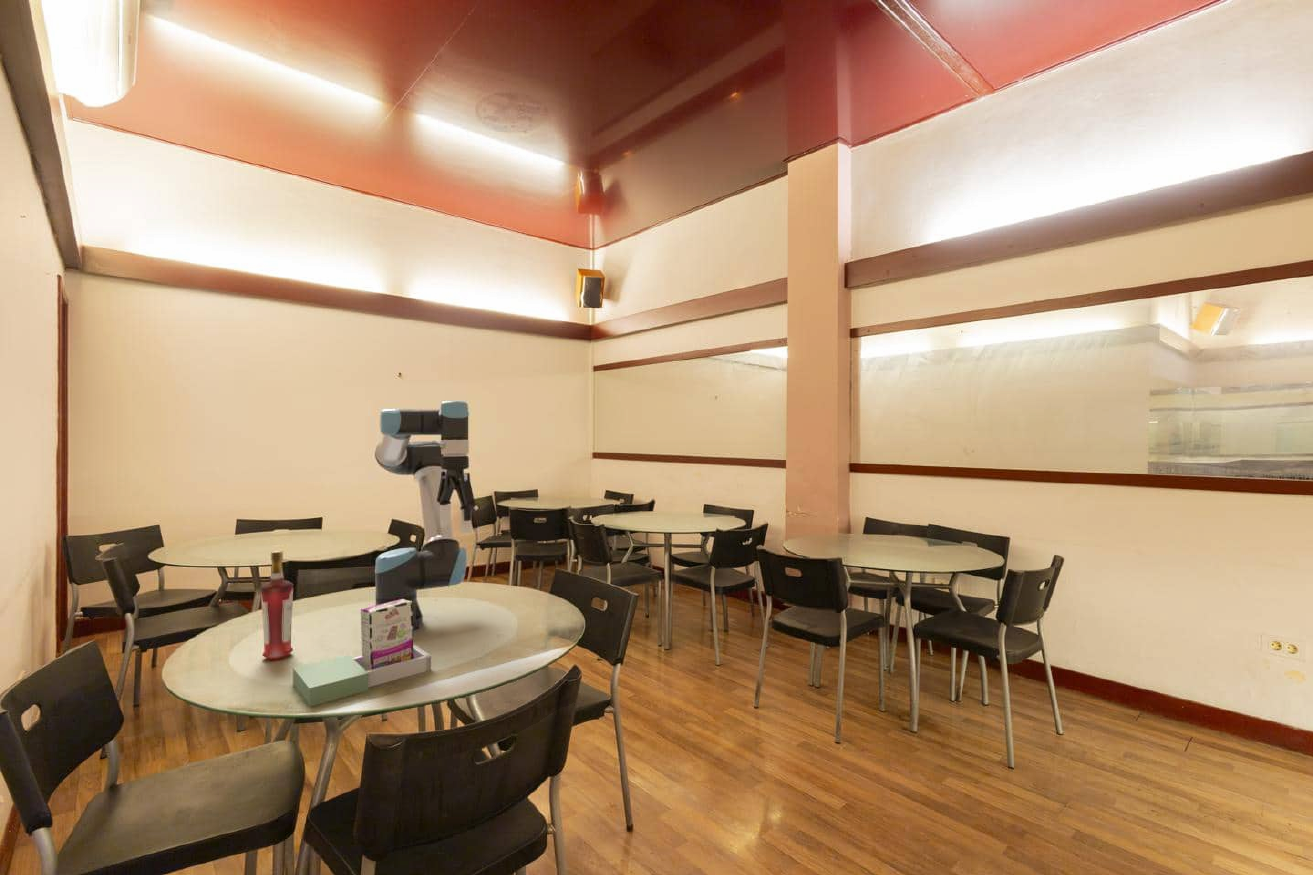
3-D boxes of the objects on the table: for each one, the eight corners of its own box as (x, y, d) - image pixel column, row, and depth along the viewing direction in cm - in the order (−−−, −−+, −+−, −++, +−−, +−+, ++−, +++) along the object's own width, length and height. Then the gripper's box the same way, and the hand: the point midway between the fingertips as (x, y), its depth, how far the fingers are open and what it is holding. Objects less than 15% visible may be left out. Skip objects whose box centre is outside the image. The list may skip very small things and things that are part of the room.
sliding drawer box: (293, 684, 140) (292, 667, 140) (410, 654, 158) (409, 639, 158) (309, 706, 128) (309, 688, 128) (434, 672, 147) (433, 655, 147)
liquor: (264, 654, 159) (263, 550, 159) (296, 650, 162) (295, 548, 162) (258, 663, 153) (257, 555, 153) (291, 659, 156) (290, 553, 155)
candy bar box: (403, 661, 153) (402, 597, 153) (414, 665, 150) (413, 600, 150) (360, 675, 144) (359, 608, 144) (371, 680, 141) (370, 611, 141)
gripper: (424, 454, 176) (425, 526, 176) (461, 456, 157) (462, 536, 157) (449, 454, 181) (449, 523, 181) (487, 455, 162) (488, 533, 162)
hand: (455, 529), depth 169 cm, fingers open, 13 cm apart
